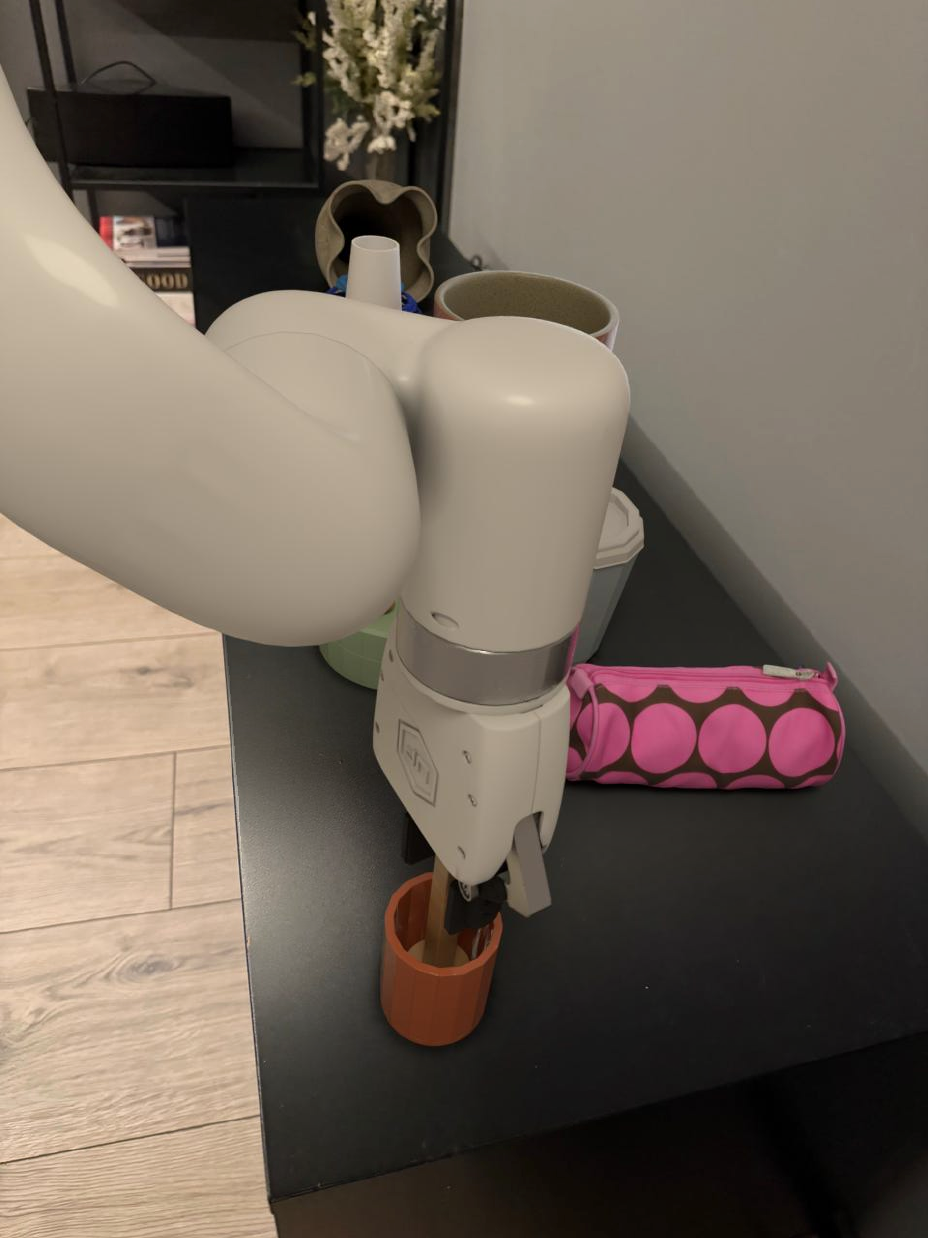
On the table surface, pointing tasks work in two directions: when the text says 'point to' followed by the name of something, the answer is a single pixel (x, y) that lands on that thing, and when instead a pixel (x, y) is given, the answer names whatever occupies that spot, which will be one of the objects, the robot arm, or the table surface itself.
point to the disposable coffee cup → (609, 572)
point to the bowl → (361, 651)
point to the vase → (378, 229)
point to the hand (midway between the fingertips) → (449, 883)
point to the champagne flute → (375, 272)
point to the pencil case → (704, 726)
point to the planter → (527, 301)
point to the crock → (432, 972)
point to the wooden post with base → (439, 927)
